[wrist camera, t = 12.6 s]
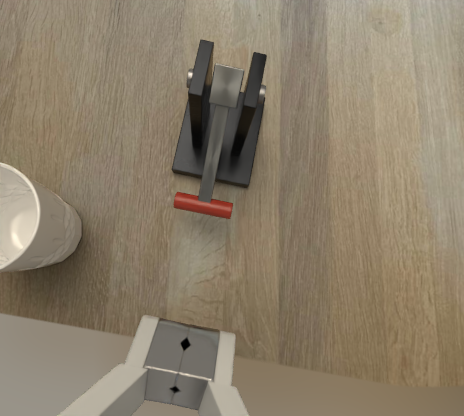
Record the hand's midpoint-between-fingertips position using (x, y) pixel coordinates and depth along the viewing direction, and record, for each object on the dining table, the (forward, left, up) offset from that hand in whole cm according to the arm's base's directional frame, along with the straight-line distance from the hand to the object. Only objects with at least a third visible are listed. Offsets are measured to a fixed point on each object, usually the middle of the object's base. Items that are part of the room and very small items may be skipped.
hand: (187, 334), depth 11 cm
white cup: (+3, +15, -22) cm, 27 cm away
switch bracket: (+16, +1, -22) cm, 27 cm away
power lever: (+13, +1, -15) cm, 20 cm away
